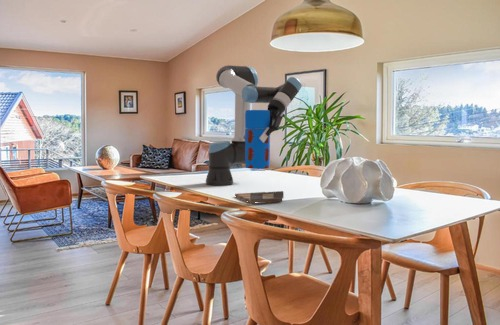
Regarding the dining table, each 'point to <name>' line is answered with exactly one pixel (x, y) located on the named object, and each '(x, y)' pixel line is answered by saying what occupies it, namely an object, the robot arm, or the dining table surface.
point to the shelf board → (261, 196)
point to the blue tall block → (256, 139)
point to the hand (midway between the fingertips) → (252, 139)
